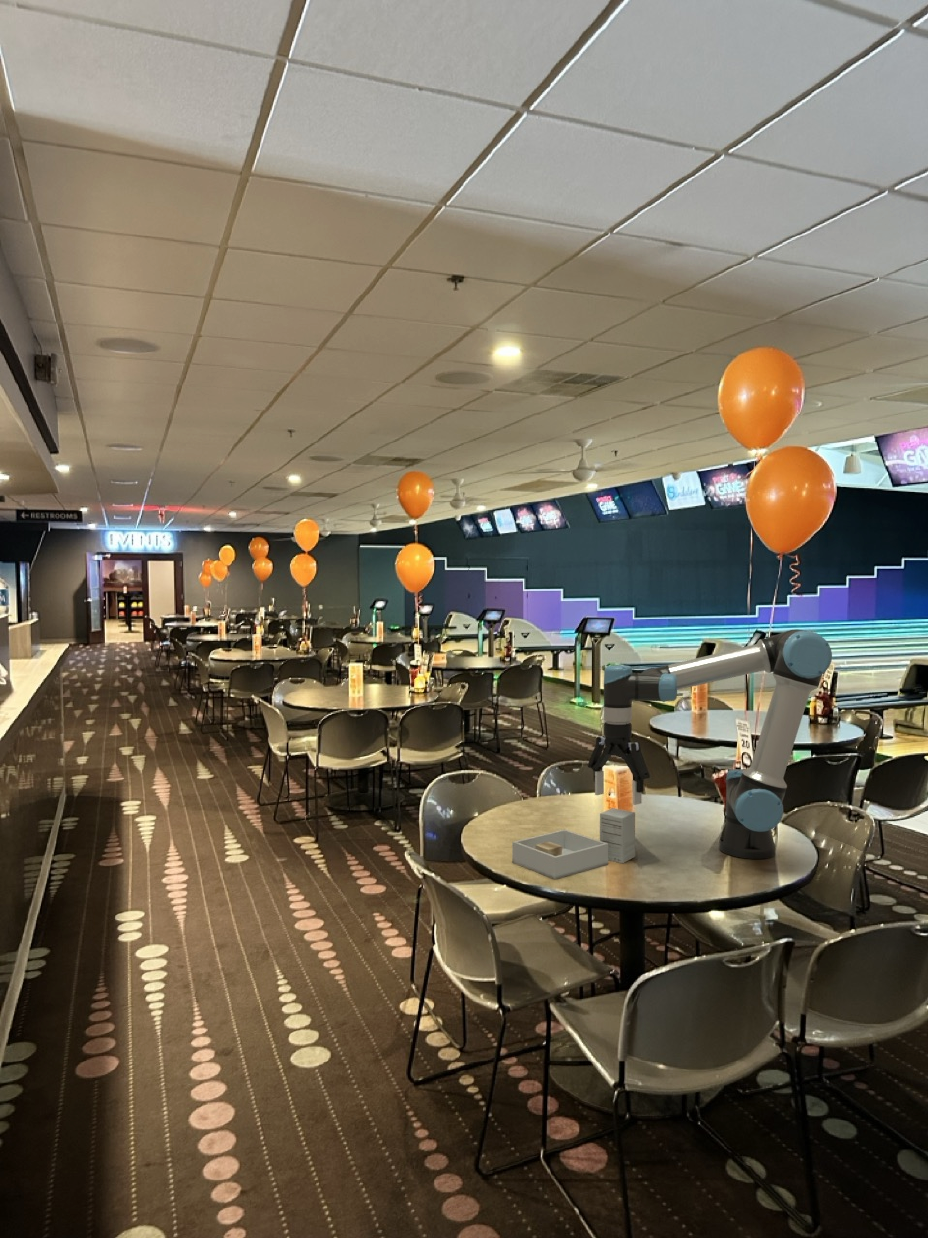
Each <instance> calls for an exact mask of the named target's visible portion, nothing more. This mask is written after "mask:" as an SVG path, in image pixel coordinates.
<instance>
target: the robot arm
mask: <svg viewBox="0 0 928 1238" xmlns="http://www.w3.org/2000/svg"><path fill="white" fill-rule="evenodd" d="M832 652H833V651H832V648H831V646H830V643H828V641H827V640H826V639H825V638H824V637H823V636H821V635H820V634H819V633H817V632H814V631H810V630H806V629H805V630H804V629H796V628H795V629H790V630H787V631H783V632H782V633H781V632H780V633H778V634H775V635H772V636H769V637H765V638H760V639H759V640H758V641H757V642H756V644H751V645H747V646H743V647H739V648H735V649H731V650H726V651H722V652H718V653H717V652H716V653H714V654H710V655H705V656H701V657H700V656H699V657H697V658H693V659H689V660H685V661H684V660H683V661H679V662H676V663H671V664H667V665H664V666H660V667H659V666H658V667H649V668H646V669H645V670H643V671H642V672H641V673H639V672H638V673H637V672H633V670H632V666H630V665H621V664H620V665H619V664H616V665H614V664H613V665H607V666H606V667H605V668H604V670H603V671H604V672H603V721H604V723H603V735H601V736H597V737H596V738H595V745H594V748H593V750H592V753H591V755H590V758H589V760H588V763H587V768H589V769H591V770H592V771H593V782H594V795H595V796H600V795H604V793H605V792H604V790H605V788H604V787H605V784H604V780H605V778H604V774H605V773H604V770H603V768H604V766H605V765H606V764H607V762H608V761H609V759H611V757H612V756H613V757H614V756H615V757H617V758H621V759H622V760H624V763H625V764H626V766H627V768H628V769H629V770H630V772H631V775H632V776H633V778H634V779H633V780H632V805H633V806H635V805H640V804H641V805H642V803H643V802H642V797H643V796H642V794H643V792H644V780H647V779H648V780H649V779H650V777H651V776H650V773H649V770H648V767H647V764H646V761H645V759H644V756H643V753H642V750H641V748H642V747H641V742H631V738H632V735H633V734H632V733H633V732H632V731H633V730H632V729H633V725H632V723H631V721H632V720H633V719H632V718H633V717H632V716H633V715H632V713H633V712H632V710H633V709H632V705H633V702H632V701H634V702H636V701H637V702H638V701H640V702H641V701H642V702H643V701H645V702H646V701H647V702H662V703H666V702H674V701H676V699H677V697H678V690H683V689H687V688H692V687H696V686H700V685H701V686H702V685H705V684H709V683H715V682H718V681H723V680H727V679H731V678H736V677H740V676H744V675H750V674H753V673H758V672H764V671H765V672H766V673H772V676H773V678H774V679H775V681H776V682H775V685H774V689H773V692H772V695H771V698H770V702H769V705H768V709H767V712H766V715H765V719H764V720H763V725H762V728H761V731H760V734H759V737H758V741H757V744H756V748H755V751H754V753H753V757H752V760H751V763H750V766H749V767H748V768H745V769H743V768H742V769H740V768H739V769H738V768H737V769H735V768H733V769H729V770H728V771H727V772H726V778H725V782H726V785H725V786H726V787H725V788H726V796H725V797H726V798H725V799H726V800H725V801H726V802H725V823H724V826H723V829H722V832H721V834H720V836H719V837H720V838H719V841H718V849H719V851H720V852H722V853H724V854H726V855H729V856H733V857H737V858H742V859H751V860H760V859H761V860H762V859H763V860H764V859H770V858H772V857H774V856H775V855H776V843H775V841H774V837H773V834H772V829H774V828H776V827H777V826H778V825H779V824H780V823H781V821H782V818H783V816H784V805H783V800H784V799H785V795H786V790H787V788H788V784H787V783H786V782H785V780H784V777H785V774H786V769H787V768H788V767H787V766H788V764H789V760H790V758H791V753H792V751H793V748H794V745H795V741H796V739H797V735H798V732H799V729H800V726H801V722H802V719H803V716H804V712H805V709H806V707H807V704H808V700H809V696H810V694H811V692H812V691H814V690H816V689H819V685H820V682H821V681H822V677H823V674H825V673H826V672H827V671H828V669H829V667H830V666H831V663H832V659H833V653H832Z"/></svg>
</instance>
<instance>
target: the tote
mask: <svg viewBox="0 0 928 1238" xmlns="http://www.w3.org/2000/svg"><path fill="white" fill-rule="evenodd" d="M546 842H552V843H554V844H557V845H560V846H562V855H559V856H553V855H550V854H548V853H545V852H542V851H539V850H537V849H535V845H538V844H542V843H546ZM511 848H512V853H511V855H512V861H511V863H512V864H515V865H518V866H521V867H523V868H524V869H528V870H530V871H532V872H535V873H538V874H539V875H542V876H545V877H548V878H549V879H550V878H551V879H553V880H559V879H562V878H565V877H570V876H572V875H577V874H579V873H583V872H586V871H589V870H593V869H596V868H600V867H604V866H608V865H609V860H608V843H605V842H602V841H600V840H598V839H594V838H591V837H588V836H586V835H583V834H579V833H577V832H574V831H571V830H567V829H561V830H557V831H553V832H548V833H545V834H540V835H539V834H538V835H536V836H532V837H527V838H523V839H519V840H516V841H514V840H513V841H512V846H511Z"/></svg>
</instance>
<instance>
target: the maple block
mask: <svg viewBox="0 0 928 1238" xmlns="http://www.w3.org/2000/svg"><path fill="white" fill-rule="evenodd" d="M535 849H537V850H539V851H542V852H545V853H548V854H550V855H553V856H559V855H562V846H560V845H557V844H554V843H552V842H546V843H542V844H538V845H535Z"/></svg>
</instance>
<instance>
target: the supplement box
mask: <svg viewBox="0 0 928 1238" xmlns="http://www.w3.org/2000/svg"><path fill="white" fill-rule="evenodd" d="M599 841H602V842H605V843H608V861H611V862H613V863H614V862H615V863H618V864H624V863H626V862H628V861H630V860H631V859H633V858H635V857H636V812H635V811H630V810H625V809H620V808H615V807H614V808H613V807H612V808H609V809H607V810H605V811H602V812H600V813H599Z"/></svg>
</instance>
